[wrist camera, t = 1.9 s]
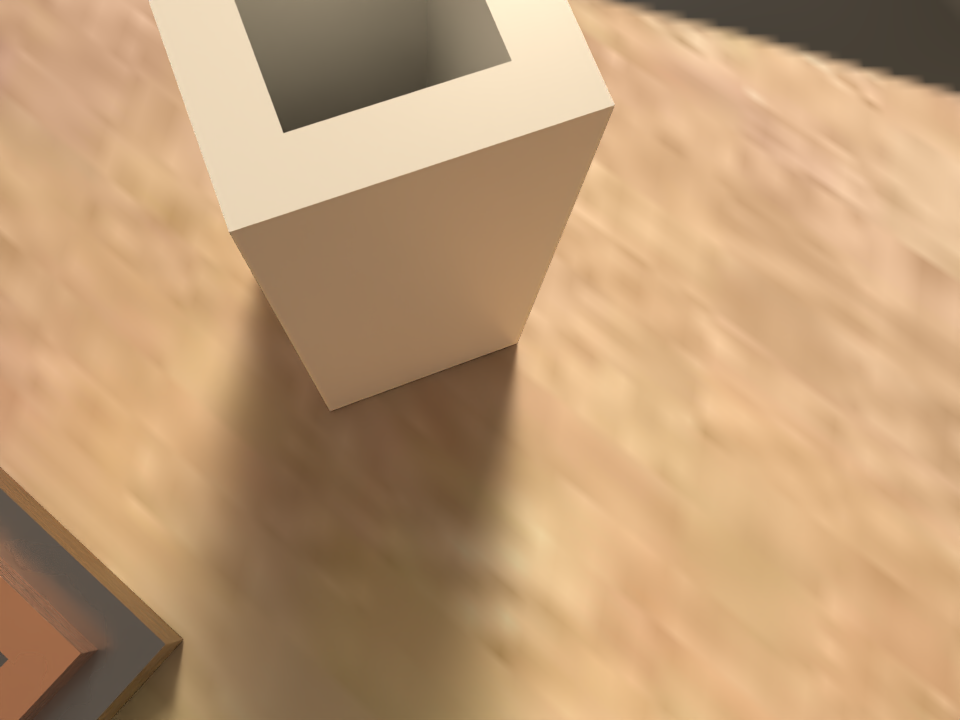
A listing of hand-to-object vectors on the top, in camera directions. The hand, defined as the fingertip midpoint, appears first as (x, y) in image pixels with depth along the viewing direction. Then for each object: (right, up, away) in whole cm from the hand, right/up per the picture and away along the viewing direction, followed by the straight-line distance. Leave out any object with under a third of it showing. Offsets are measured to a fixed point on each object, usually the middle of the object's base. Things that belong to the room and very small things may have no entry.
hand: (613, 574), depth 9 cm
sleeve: (-4, +4, +14) cm, 15 cm away
